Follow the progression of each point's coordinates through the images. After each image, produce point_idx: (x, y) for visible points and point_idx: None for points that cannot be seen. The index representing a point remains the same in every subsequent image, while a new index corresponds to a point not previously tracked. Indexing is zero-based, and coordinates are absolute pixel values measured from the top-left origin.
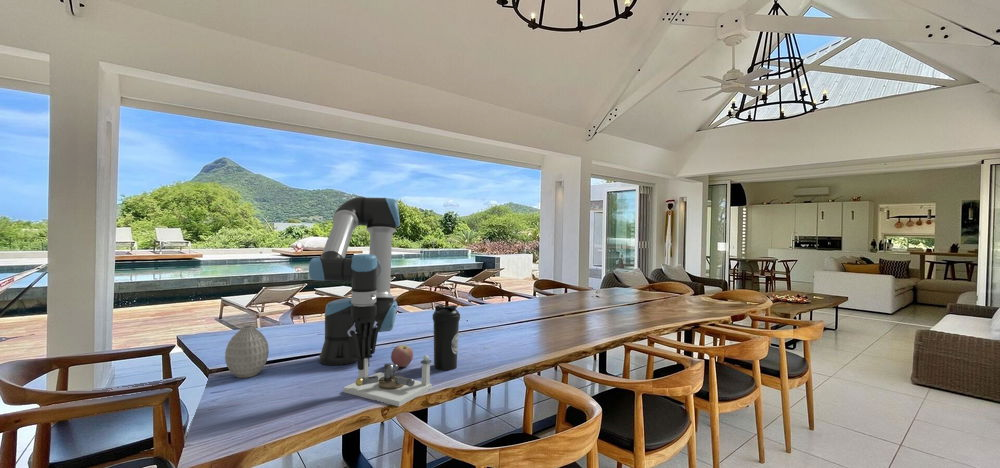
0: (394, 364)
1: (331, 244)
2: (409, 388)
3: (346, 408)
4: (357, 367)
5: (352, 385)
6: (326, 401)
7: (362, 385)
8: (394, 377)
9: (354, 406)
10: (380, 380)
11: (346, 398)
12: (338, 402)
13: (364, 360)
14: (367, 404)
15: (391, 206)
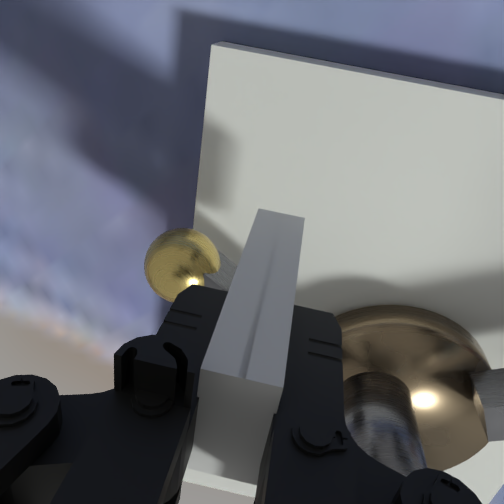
0: None
1: None
2: None
3: (21, 243)
4: (177, 297)
5: (286, 100)
6: (11, 33)
7: (313, 191)
8: (439, 417)
9: (66, 271)
10: (343, 354)
11: (132, 151)
12: (52, 140)
13: (194, 443)
14: (125, 321)
15: None
